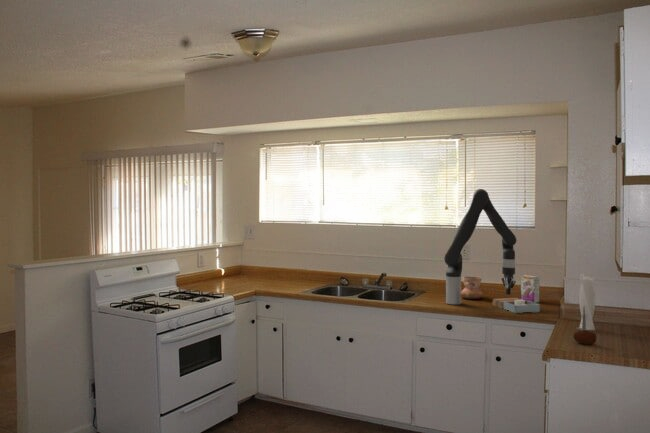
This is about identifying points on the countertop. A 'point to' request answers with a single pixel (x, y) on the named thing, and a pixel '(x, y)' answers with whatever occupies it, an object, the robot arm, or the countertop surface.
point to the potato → (585, 337)
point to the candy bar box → (530, 288)
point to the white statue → (587, 303)
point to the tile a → (519, 302)
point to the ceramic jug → (471, 287)
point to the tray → (522, 307)
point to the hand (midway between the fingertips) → (508, 294)
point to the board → (500, 301)
